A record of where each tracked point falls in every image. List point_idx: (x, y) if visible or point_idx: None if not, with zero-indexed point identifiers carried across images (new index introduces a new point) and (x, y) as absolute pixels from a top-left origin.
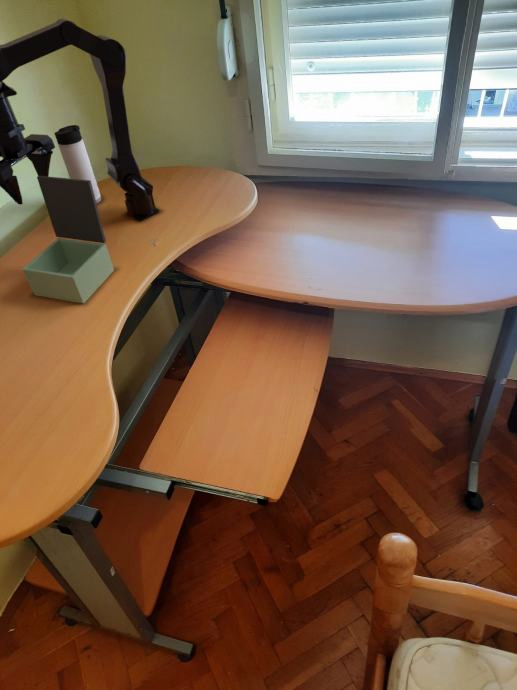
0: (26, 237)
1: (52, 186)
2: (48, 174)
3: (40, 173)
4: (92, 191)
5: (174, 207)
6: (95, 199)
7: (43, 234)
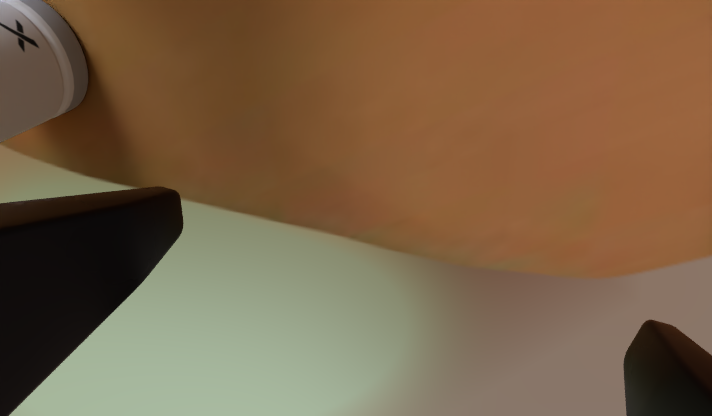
0: (405, 245)
1: None
2: (31, 202)
3: (69, 301)
4: None
5: None
6: (21, 4)
7: (371, 174)
